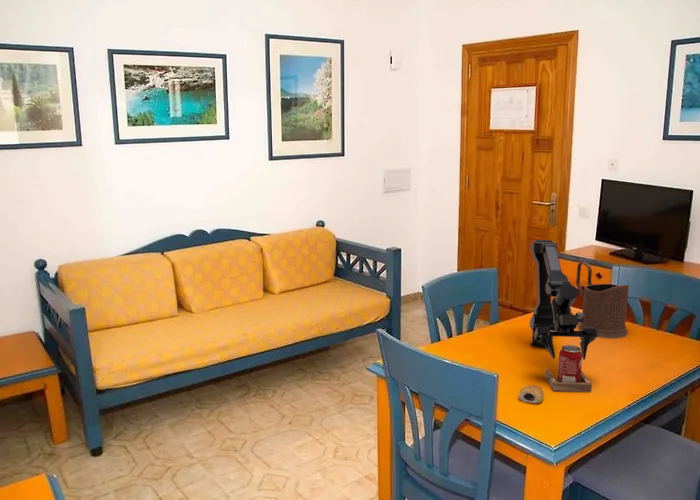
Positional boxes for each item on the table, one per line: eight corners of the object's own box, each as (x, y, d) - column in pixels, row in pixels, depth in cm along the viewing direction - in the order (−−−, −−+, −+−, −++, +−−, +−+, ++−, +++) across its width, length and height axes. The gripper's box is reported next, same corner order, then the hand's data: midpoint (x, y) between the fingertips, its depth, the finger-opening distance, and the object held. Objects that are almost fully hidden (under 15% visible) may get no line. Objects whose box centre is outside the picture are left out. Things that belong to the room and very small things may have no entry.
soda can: (576, 390, 189) (579, 353, 186) (554, 384, 193) (557, 349, 190) (582, 382, 194) (585, 347, 192) (560, 377, 198) (563, 342, 195)
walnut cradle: (544, 376, 199) (545, 369, 198) (580, 377, 198) (581, 370, 197) (553, 391, 188) (553, 383, 188) (591, 392, 187) (591, 384, 187)
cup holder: (603, 341, 230) (609, 277, 224) (557, 322, 251) (561, 263, 246) (638, 334, 237) (645, 271, 232) (590, 316, 259) (595, 258, 253)
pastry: (525, 389, 190) (525, 377, 189) (547, 394, 187) (548, 382, 186) (517, 401, 182) (518, 389, 181) (540, 406, 179) (541, 394, 178)
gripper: (538, 302, 194) (544, 348, 185) (598, 303, 192) (607, 349, 184) (531, 317, 203) (536, 362, 195) (588, 318, 202) (596, 363, 193)
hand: (569, 358), depth 192 cm, fingers open, 9 cm apart
